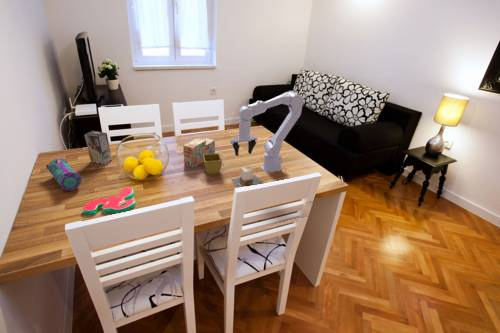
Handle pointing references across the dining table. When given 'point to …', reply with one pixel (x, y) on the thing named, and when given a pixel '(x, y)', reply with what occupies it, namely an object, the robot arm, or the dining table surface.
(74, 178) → the pencil case
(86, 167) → the dining table surface
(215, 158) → the flower pot
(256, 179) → the blueprint mat
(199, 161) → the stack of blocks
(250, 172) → the top block
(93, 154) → the coffee box
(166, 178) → the dining table surface
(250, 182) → the base block
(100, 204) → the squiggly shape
